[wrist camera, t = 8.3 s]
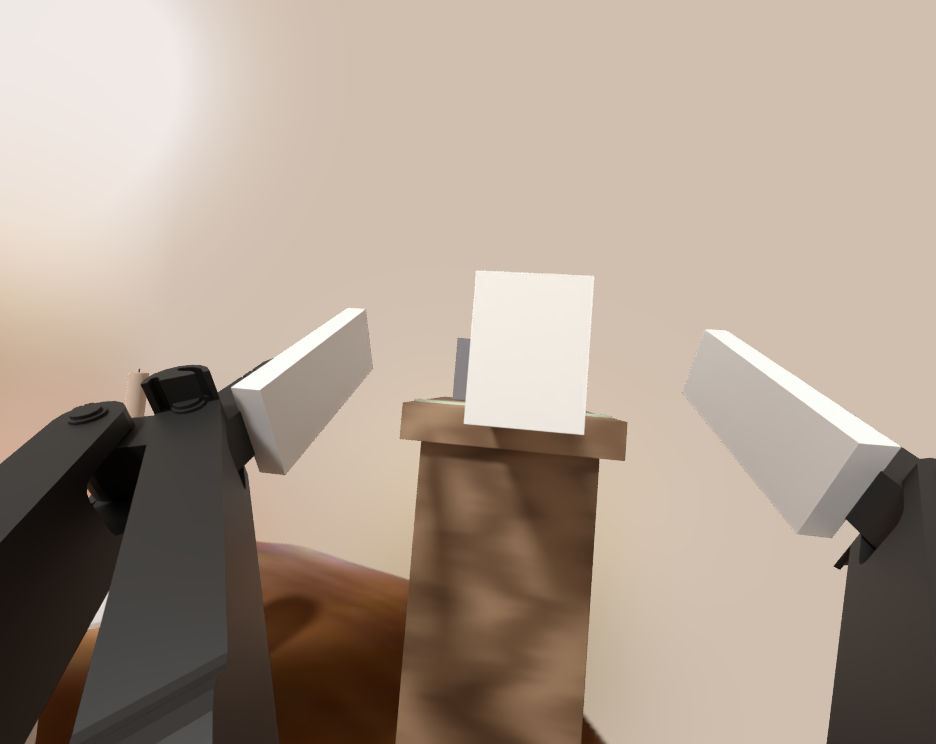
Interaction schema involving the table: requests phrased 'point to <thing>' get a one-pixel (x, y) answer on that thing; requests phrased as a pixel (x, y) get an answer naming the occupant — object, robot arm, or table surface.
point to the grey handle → (527, 352)
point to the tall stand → (499, 578)
